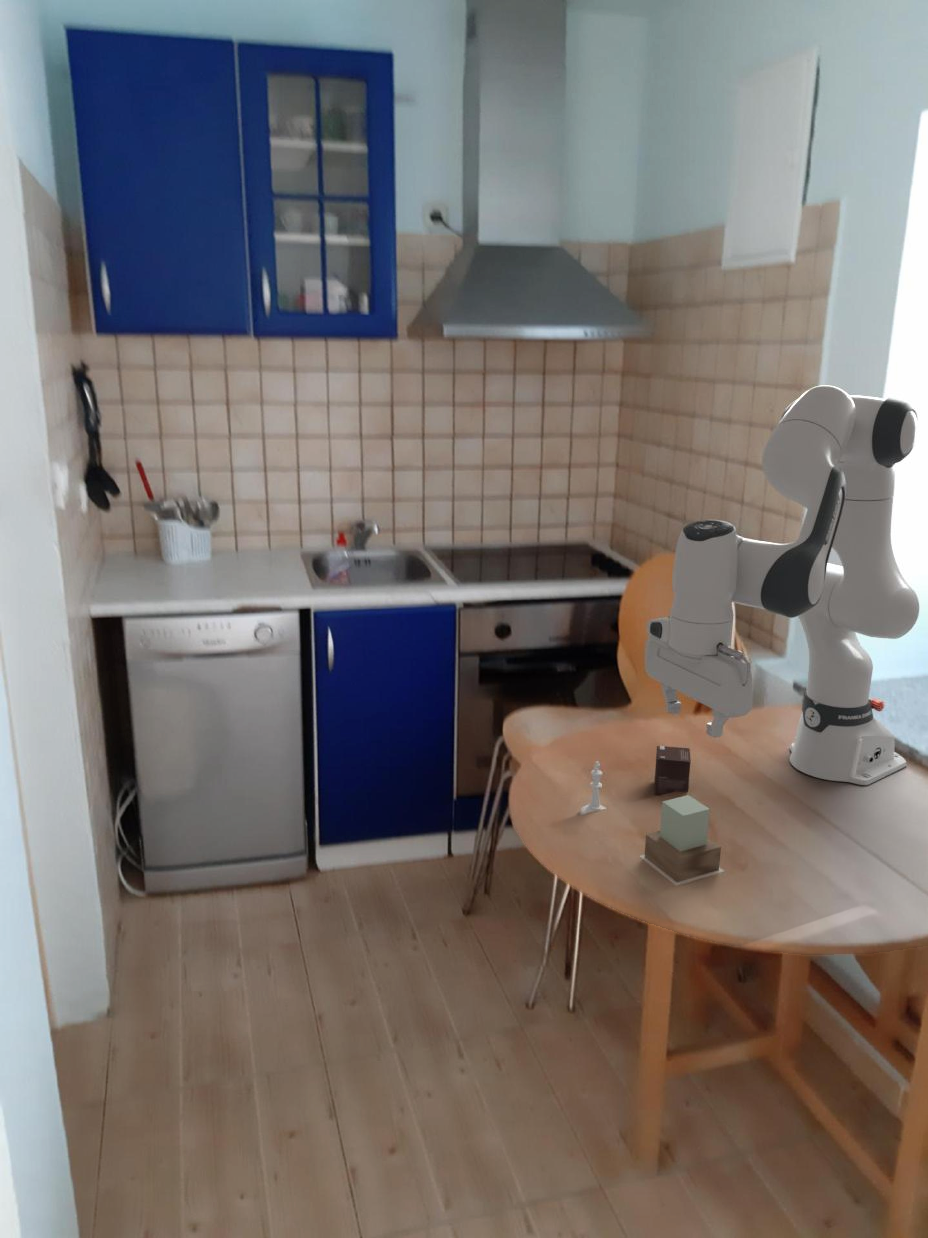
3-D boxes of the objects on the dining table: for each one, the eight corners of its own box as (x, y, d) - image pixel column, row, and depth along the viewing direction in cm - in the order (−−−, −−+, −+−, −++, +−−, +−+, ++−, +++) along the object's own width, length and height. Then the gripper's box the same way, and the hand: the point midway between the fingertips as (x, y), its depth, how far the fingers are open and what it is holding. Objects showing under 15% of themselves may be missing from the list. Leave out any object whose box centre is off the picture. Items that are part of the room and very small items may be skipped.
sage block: (685, 829, 149) (688, 795, 147) (706, 844, 144) (709, 809, 143) (659, 836, 147) (662, 801, 145) (680, 851, 142) (683, 815, 141)
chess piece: (613, 812, 165) (616, 760, 162) (601, 824, 161) (604, 770, 158) (587, 805, 168) (590, 753, 165) (575, 816, 164) (577, 763, 161)
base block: (685, 845, 152) (687, 823, 151) (718, 870, 145) (721, 847, 144) (644, 857, 148) (646, 834, 147) (676, 882, 142) (678, 858, 140)
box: (687, 799, 170) (691, 761, 168) (653, 795, 171) (656, 758, 169) (687, 784, 176) (690, 747, 174) (654, 781, 177) (656, 744, 175)
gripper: (768, 652, 128) (758, 746, 132) (673, 614, 146) (667, 697, 150) (732, 659, 126) (723, 754, 130) (639, 619, 143) (634, 704, 147)
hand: (692, 723), depth 140 cm, fingers open, 8 cm apart
